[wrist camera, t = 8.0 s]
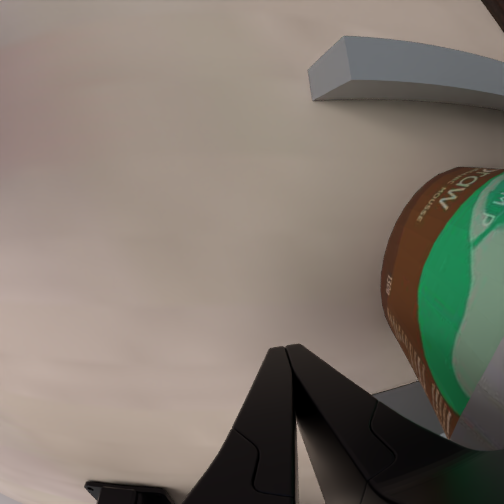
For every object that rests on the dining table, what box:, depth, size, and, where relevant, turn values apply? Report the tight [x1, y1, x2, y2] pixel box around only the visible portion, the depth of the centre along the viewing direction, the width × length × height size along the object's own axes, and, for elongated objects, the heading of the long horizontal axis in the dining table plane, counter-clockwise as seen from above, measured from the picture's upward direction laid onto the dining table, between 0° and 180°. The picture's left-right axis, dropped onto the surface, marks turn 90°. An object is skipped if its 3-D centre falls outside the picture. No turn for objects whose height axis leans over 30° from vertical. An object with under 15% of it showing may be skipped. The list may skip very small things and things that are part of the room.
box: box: [308, 36, 504, 438], centre depth 11 cm, size 16×15×4 cm
